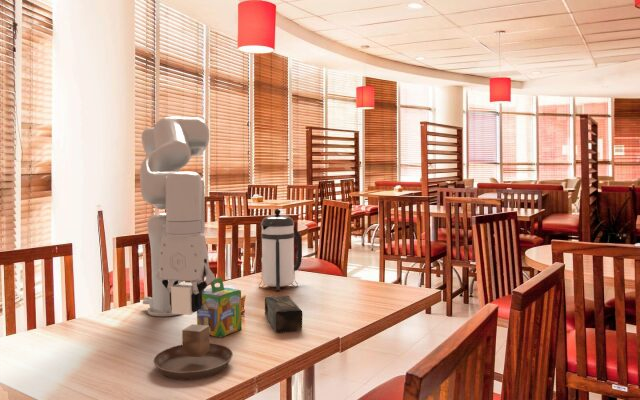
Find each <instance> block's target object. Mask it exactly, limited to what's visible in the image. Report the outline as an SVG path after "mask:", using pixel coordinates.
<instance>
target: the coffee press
mask: <svg viewBox="0 0 640 400" xmlns="http://www.w3.org/2000/svg"><path fill="white" fill-rule="evenodd" d="M274 214H275V215H268V216H265V217H264V218H263V219H262V220H261V222H260V226H261V232H260V234H261V235H260V237H261V238H260V239H261V240H260V241H261V242H260V243H261V244H260V245H261V246H260V247H261V251H260V252H261V254H260V255H261V278H262V280H261V281H260V282H259V283H258V288H259V289H262V288H263V287H265V286H267V287H276V288H275V289H276V290H275V292H276V293H277V292H280V291H281V287H286V286H290V285H292V286H293V287H294V288H298V286H299V285H298V282H297V281H296V278H295V277H296V275H295V272H296V271H298V270H299V268H301V264H302V259H303V258H302V252H303V251H302V250H303V249H302V248H303V247H302V237H301V234H300V232H298V231H296V230H294V227H295V222H294V220H293V218H292V217H290V216H288V215H280V214H281V209H280V208H276V209H274ZM295 239H296V263H295ZM294 282H295V283H296V286H295V285H294V284H293V283H294ZM261 283H263V285H261ZM260 285H261V286H260Z"/></svg>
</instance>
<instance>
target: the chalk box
mask: <svg viewBox="0 0 640 400" xmlns="http://www.w3.org/2000/svg"><path fill="white" fill-rule="evenodd" d="M216 284H219V286H215V285H216ZM210 287H211V288H205V289H204V291H202V306H201V309H200V310H198V311H196V325H206V326H209V336H212V337H217V338H223V337H225V336H228V335H230V334H233V333H236V332H238V331H241V330H242V290H240V289H234V288H232V287H225V285H224V282H223V278H222V277H217V278H216V279H215V280H214V281H213V282H212V283H210Z"/></svg>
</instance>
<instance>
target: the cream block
mask: <svg viewBox="0 0 640 400" xmlns="http://www.w3.org/2000/svg"><path fill="white" fill-rule="evenodd" d="M192 294H194V293H193V288H192V284H191V282H188V281H183V282H181V283H179V284H176V285H174V286H171V304H172V314H179V315H187V316H190V315H192V314H194V313H195V312H192V298H191V296H192Z"/></svg>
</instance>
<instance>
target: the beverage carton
mask: <svg viewBox="0 0 640 400" xmlns="http://www.w3.org/2000/svg"><path fill="white" fill-rule="evenodd" d="M264 315H265V318H266V319H267V320H268V322H269V323H270V325H271V327H272V330H274V332H275V333H279V334H280V333H293V332H302V330H303V310H302V309H301V308H300V307H299V306H298V305H297V304H296V303H295V301H293V300H292V298H290V296H289V295H274V294H271V295H269V296H265V298H264Z"/></svg>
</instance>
